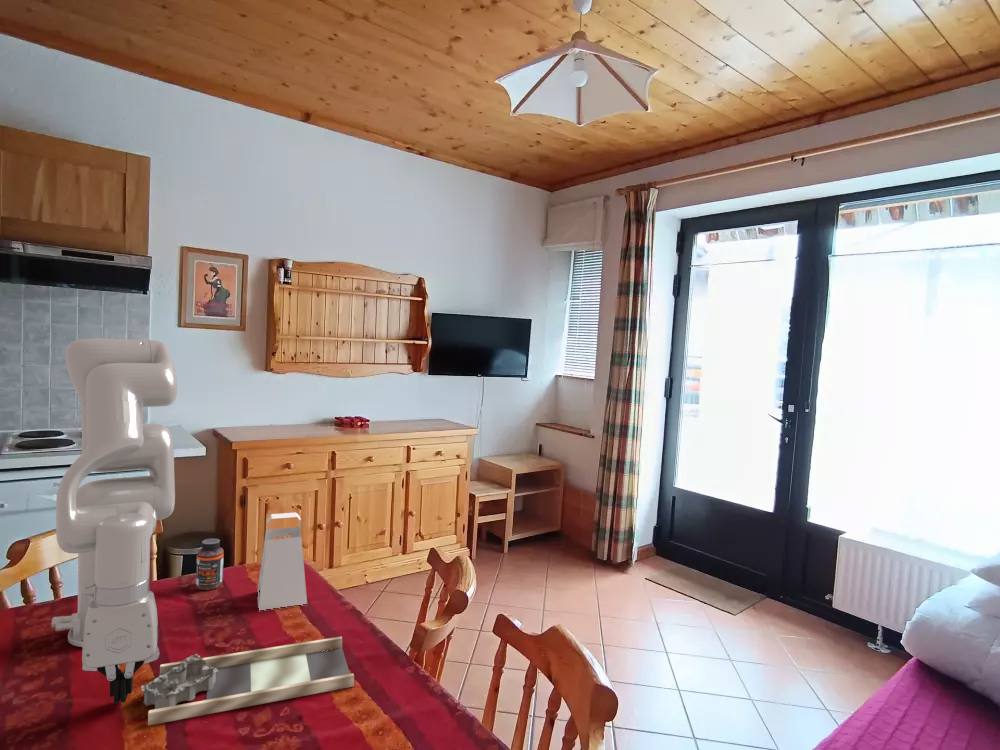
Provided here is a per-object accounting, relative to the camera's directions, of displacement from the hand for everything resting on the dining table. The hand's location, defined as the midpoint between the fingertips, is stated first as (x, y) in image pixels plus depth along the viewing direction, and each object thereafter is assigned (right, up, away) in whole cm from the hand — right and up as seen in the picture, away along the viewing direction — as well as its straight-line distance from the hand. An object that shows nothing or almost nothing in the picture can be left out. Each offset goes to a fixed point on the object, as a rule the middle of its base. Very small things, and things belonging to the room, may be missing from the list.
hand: (121, 698), depth 96 cm
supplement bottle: (-8, +2, +46) cm, 47 cm away
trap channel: (+19, -2, +8) cm, 21 cm away
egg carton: (+8, -1, +4) cm, 9 cm away
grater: (+11, 0, +42) cm, 43 cm away
